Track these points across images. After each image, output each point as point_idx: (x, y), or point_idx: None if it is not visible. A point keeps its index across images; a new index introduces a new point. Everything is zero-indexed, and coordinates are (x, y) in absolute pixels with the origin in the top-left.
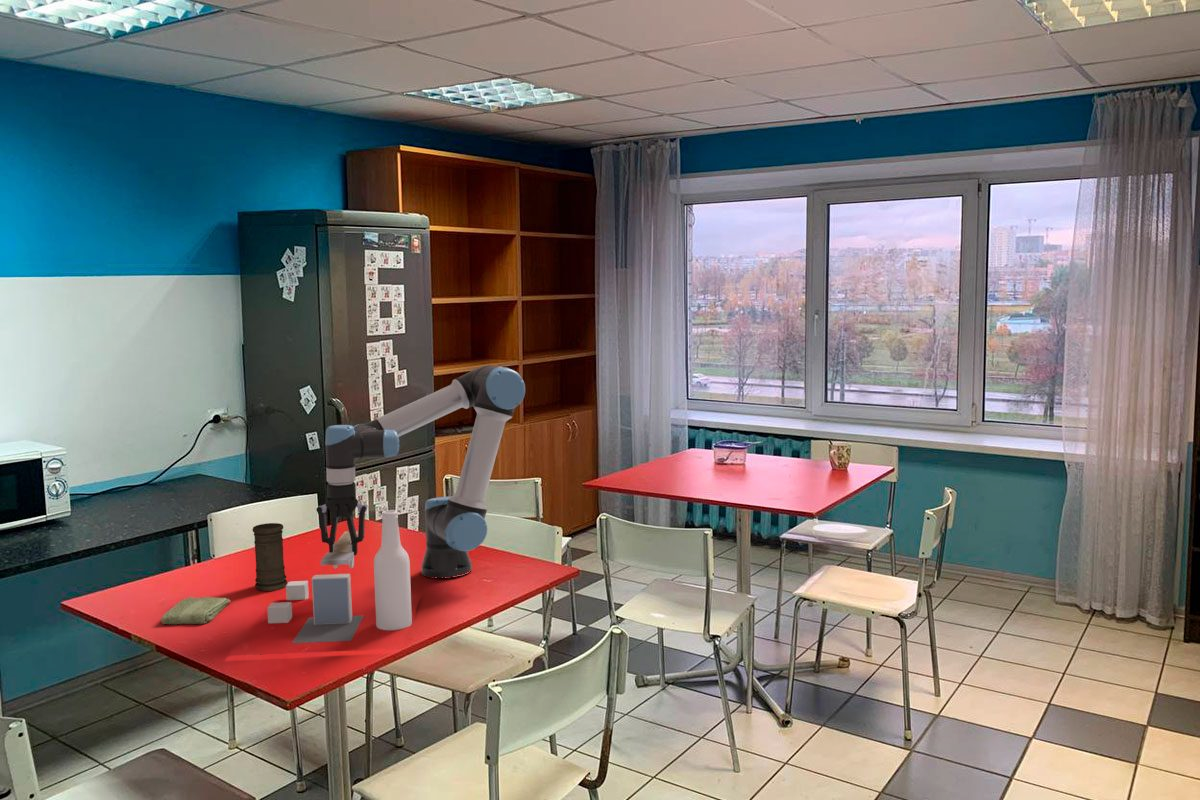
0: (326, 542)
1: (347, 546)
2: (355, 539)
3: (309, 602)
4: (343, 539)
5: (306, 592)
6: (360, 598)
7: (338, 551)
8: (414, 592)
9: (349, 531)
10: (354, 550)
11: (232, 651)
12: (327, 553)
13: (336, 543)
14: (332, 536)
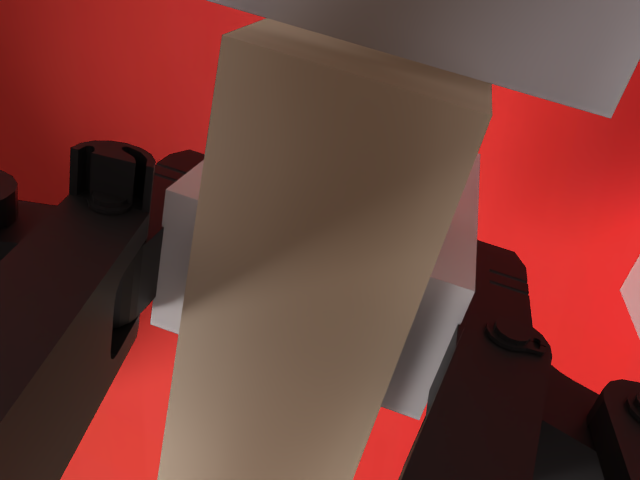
0: (583, 394)
1: (227, 86)
2: (50, 216)
3: (636, 206)
4: (281, 454)
5: None
6: None
7: (408, 64)
8: (11, 127)
9: (45, 344)
10: (176, 175)
11: None
12: (620, 51)
13: (409, 276)
14: (472, 407)
